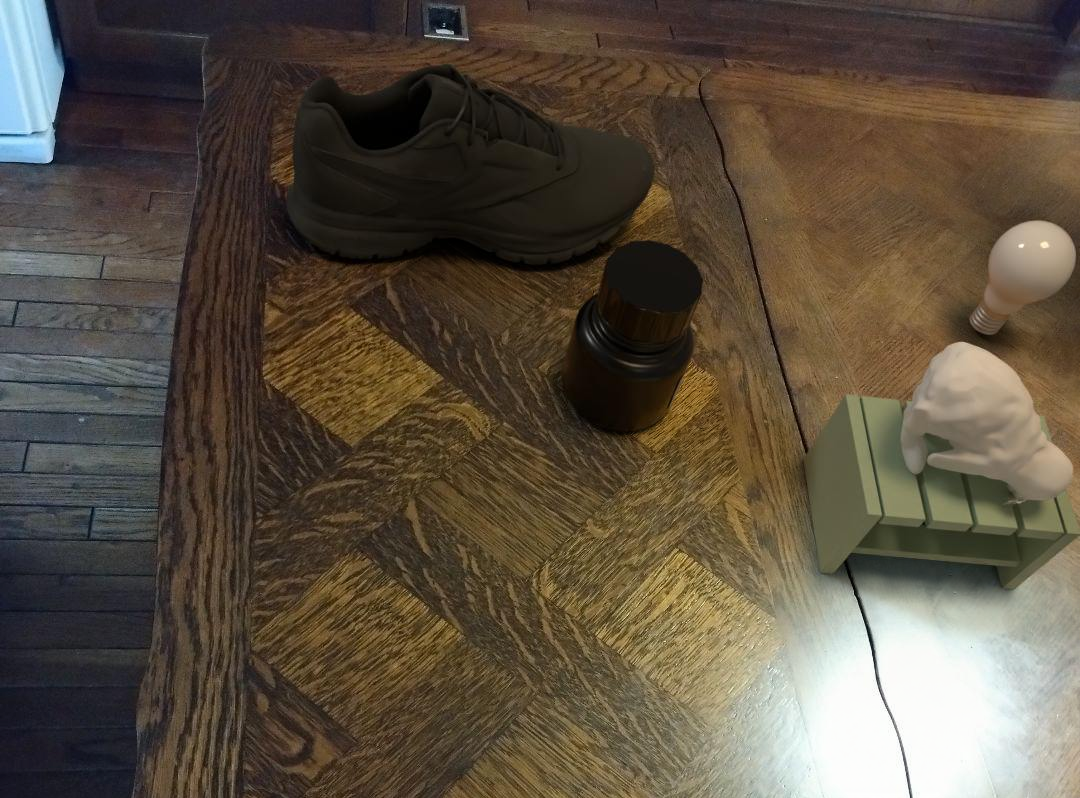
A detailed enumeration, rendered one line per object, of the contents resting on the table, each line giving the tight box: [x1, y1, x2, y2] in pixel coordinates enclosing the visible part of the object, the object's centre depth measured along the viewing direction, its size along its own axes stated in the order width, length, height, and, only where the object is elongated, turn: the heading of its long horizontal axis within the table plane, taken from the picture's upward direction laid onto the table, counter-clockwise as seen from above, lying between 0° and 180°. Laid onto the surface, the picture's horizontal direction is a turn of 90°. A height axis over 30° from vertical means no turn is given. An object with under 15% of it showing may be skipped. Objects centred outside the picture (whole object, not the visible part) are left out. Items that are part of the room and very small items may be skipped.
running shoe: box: [285, 62, 656, 266], centre depth 78 cm, size 11×30×14 cm, turn 105°
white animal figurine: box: [901, 341, 1074, 506], centre depth 64 cm, size 6×8×12 cm
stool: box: [802, 393, 1080, 590], centre depth 71 cm, size 15×10×8 cm, turn 89°
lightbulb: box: [969, 219, 1077, 336], centre depth 82 cm, size 6×6×11 cm
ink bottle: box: [561, 239, 704, 432], centre depth 72 cm, size 10×9×12 cm
